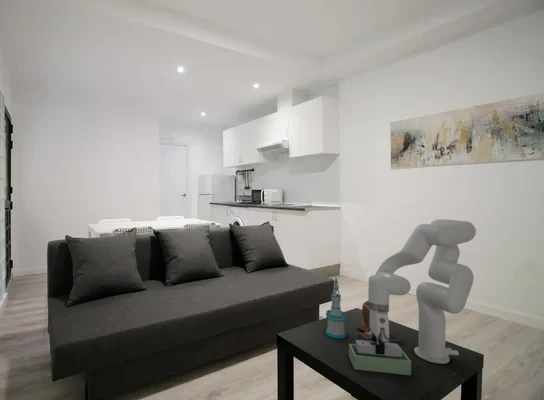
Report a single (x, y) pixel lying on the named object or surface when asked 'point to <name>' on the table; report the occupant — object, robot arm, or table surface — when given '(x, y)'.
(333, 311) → the model tower
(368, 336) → the walkie-talkie
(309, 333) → the table surface
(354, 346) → the tray
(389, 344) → the remote
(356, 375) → the table surface
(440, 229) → the robot arm
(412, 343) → the table surface
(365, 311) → the brown flared hollow piece
